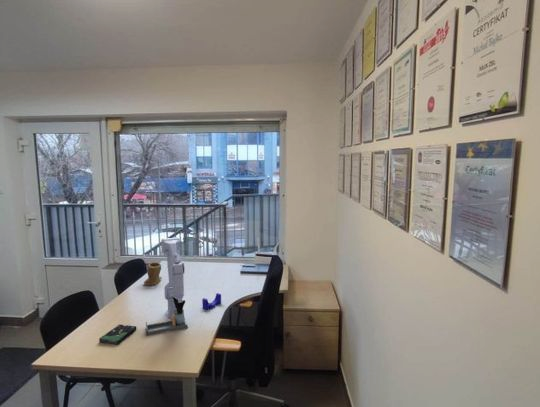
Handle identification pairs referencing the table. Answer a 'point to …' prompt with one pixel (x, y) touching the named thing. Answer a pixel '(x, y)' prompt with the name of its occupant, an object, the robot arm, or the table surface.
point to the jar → (179, 318)
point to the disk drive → (117, 335)
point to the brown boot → (153, 273)
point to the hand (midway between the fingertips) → (178, 310)
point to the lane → (162, 327)
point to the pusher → (173, 320)
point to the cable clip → (212, 304)
